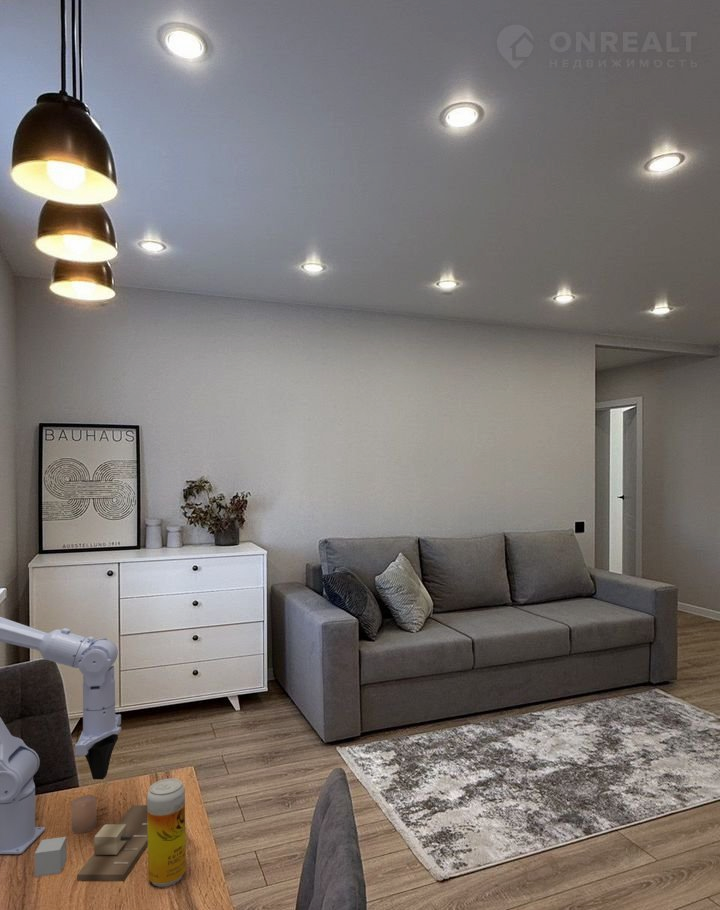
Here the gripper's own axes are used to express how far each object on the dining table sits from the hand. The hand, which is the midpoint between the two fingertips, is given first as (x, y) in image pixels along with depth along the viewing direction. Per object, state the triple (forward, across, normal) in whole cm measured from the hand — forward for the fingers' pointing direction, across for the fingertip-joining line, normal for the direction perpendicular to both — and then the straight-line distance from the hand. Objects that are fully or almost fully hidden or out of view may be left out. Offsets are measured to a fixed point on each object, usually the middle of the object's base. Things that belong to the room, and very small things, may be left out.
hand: (99, 777), depth 117 cm
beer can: (+10, -13, -18) cm, 24 cm away
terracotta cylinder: (+10, +2, +4) cm, 11 cm away
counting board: (+10, -3, -7) cm, 13 cm away
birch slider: (+9, -7, -6) cm, 13 cm away
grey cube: (+10, -10, +4) cm, 15 cm away
